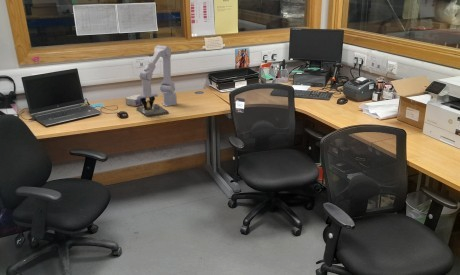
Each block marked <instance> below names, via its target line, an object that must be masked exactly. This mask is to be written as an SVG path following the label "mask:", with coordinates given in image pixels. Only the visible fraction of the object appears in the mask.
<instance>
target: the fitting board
mask: <svg viewBox="0 0 460 275" xmlns="http://www.w3.org/2000/svg"><path fill="white" fill-rule="evenodd" d="M135 108H136V112H137V111H138V112H139V113H140V114H142V115H143V116H145V117H146V118H151V117H157V116H163V115H169V112H170V111H169V110H167V109H165V108H164V107H162V106H160V104H159V103H155V104H154V103H153V107H152V108H151V110H145V108H144V106H139V107H138V106H137V107H135Z"/></svg>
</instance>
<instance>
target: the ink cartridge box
mask: <svg viewBox="0 0 460 275" xmlns="http://www.w3.org/2000/svg"><path fill="white" fill-rule="evenodd" d="M140 95H141V94H138V93H137V94H136V93H135V94H133V95H131V96H128V97H125V105H127V106H131V107H138V106H139V107H140V106H141V105H143V103H142V101H141V100H140V99H139V100H138V99H137V96H140ZM145 100H147V98H145Z"/></svg>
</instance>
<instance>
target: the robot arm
mask: <svg viewBox="0 0 460 275" xmlns="http://www.w3.org/2000/svg"><path fill="white" fill-rule="evenodd" d="M153 51H154V53H153V55H152V57H151V60H150V61H149V62H147V64H146V66H144V70H142V71H141V72H140V74H139V78H140V81H141V87H142V94H139V95H140V96H137V99H138V100H139V99H140V100H141V101H142V103H143V104H142V107H144V108H145V109H146V100H147V99H148V100H150V104H151V108H152V107H153V104H154V102H155V100H156V97H159V95H158V93H157V92H155V93H154V92H153V93H152V82H151V80H152V78H153V73H154V71H155V69H156V68H157V66H156V64H157V62H158V61H159V59H160V57H161V58H162V67H163V68H162V70H163V74H162V76H163V80H162V81H161V82H160V85H159V89H160V92H161V93H162V99H163V102H161V105H163V106H165V107H170V106H177V105H178V100H177V94H176V92H175V90H176V86H175V82H174V81H173V80H172V76H171V75H172V74H171V72H172V70H171V69H172V68H171V64H172V63H171V57H172V48H171V47H170V46H169V45H158V44H156V46H154V49H153ZM145 98H146V100H145Z"/></svg>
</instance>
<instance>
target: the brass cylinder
mask: <svg viewBox="0 0 460 275" xmlns="http://www.w3.org/2000/svg"><path fill="white" fill-rule="evenodd" d="M145 110H151V104H150V100H149V99H146V109H145Z"/></svg>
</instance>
